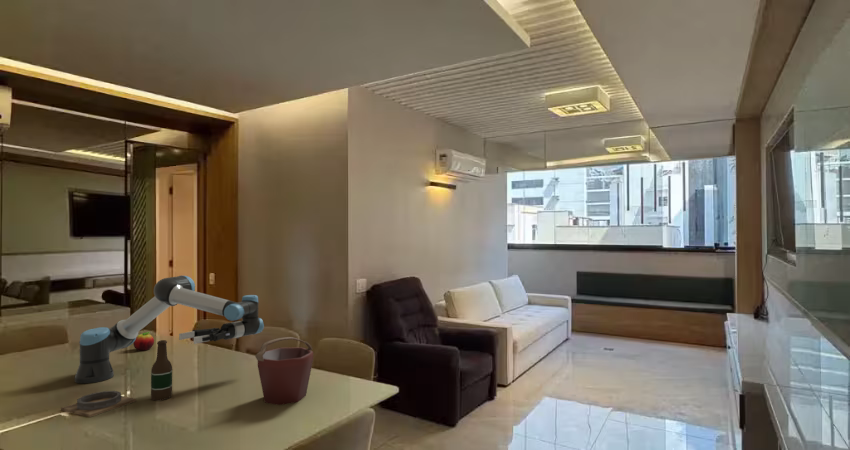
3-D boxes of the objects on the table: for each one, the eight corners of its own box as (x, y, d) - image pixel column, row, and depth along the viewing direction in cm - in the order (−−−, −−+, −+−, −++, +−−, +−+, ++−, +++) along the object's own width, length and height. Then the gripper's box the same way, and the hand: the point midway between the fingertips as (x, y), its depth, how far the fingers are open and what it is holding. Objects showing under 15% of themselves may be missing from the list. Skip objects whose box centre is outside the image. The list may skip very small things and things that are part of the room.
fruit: (128, 351, 272) (129, 334, 273) (142, 347, 283) (143, 330, 283) (144, 352, 271) (144, 335, 271) (158, 347, 281) (158, 331, 282)
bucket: (257, 411, 179) (257, 346, 179) (250, 394, 198) (250, 336, 199) (319, 400, 190) (319, 340, 190) (307, 385, 209) (307, 330, 210)
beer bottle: (162, 401, 189) (163, 343, 190) (146, 400, 191) (147, 342, 192) (176, 395, 197) (176, 339, 198) (160, 393, 199) (161, 338, 199)
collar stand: (60, 410, 180) (60, 401, 180) (107, 395, 197) (107, 387, 197) (90, 417, 173) (90, 407, 173) (136, 401, 190) (136, 392, 190)
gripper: (246, 341, 211) (200, 351, 195) (218, 335, 227) (173, 343, 210) (246, 325, 212) (200, 333, 195) (218, 319, 227) (173, 327, 210)
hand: (186, 338), depth 202 cm, fingers open, 13 cm apart
